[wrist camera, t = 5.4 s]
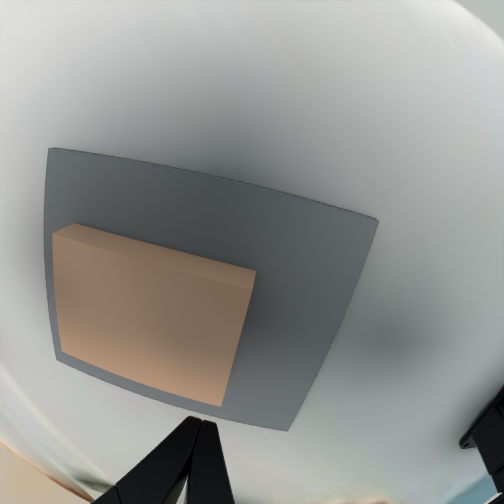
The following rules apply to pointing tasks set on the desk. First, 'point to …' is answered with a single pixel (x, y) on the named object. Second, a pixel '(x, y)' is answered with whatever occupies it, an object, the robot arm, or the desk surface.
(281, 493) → the desk surface
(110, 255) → the block
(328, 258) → the mat
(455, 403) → the desk surface
